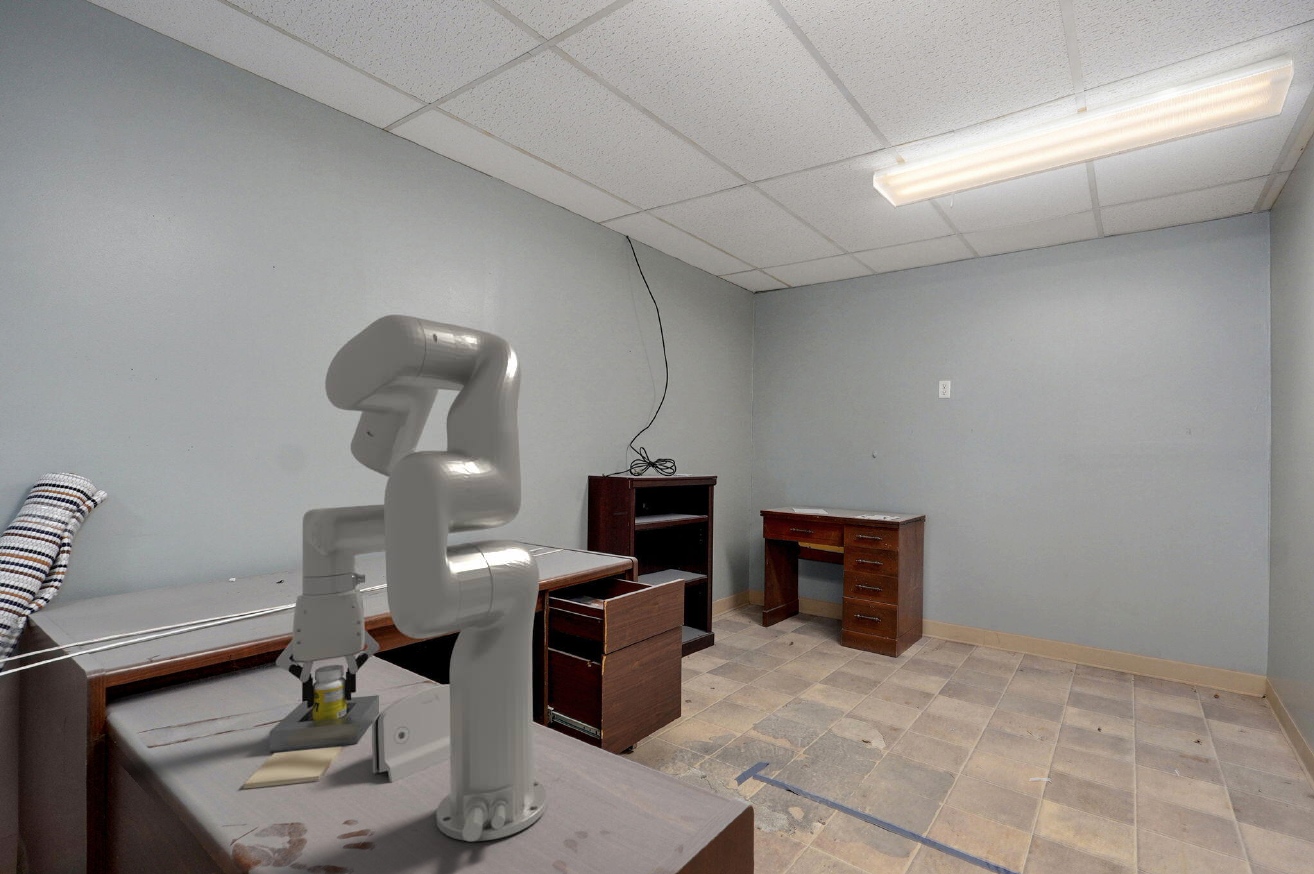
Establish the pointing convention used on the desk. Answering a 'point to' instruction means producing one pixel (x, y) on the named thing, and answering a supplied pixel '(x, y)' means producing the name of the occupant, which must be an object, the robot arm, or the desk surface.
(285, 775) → the pad
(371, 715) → the socket block
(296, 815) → the desk surface
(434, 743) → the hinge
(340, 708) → the supplement bottle
